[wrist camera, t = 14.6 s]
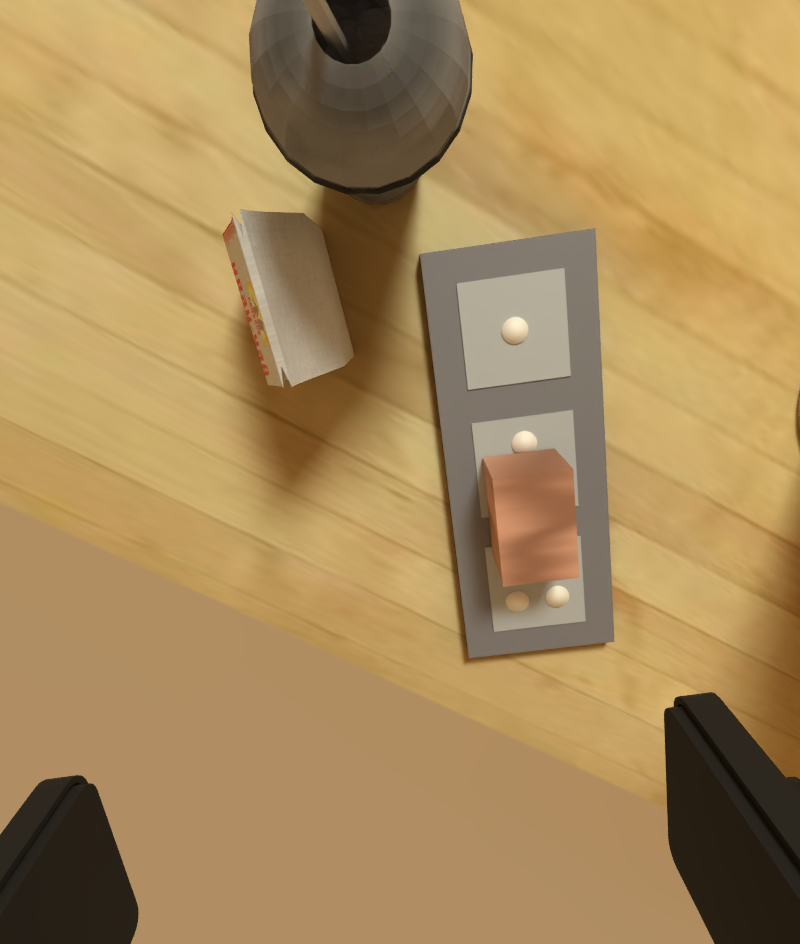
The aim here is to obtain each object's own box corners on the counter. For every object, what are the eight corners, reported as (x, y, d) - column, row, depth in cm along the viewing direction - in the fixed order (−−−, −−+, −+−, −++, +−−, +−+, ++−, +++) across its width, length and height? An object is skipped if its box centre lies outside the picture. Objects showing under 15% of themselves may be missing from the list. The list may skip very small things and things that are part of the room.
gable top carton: (321, 229, 32) (284, 197, 22) (354, 355, 33) (333, 376, 24) (255, 247, 32) (190, 222, 22) (291, 371, 34) (245, 398, 24)
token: (573, 468, 29) (579, 577, 31) (554, 448, 33) (560, 546, 35) (492, 479, 30) (502, 586, 31) (482, 457, 33) (492, 554, 35)
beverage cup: (457, 221, 31) (539, 89, 12) (321, 243, 32) (189, 150, 12) (439, 63, 29) (500, -394, 10) (294, 89, 30) (87, -304, 10)
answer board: (589, 230, 31) (596, 227, 30) (608, 633, 38) (615, 643, 37) (419, 255, 32) (420, 253, 31) (467, 649, 38) (469, 659, 37)
